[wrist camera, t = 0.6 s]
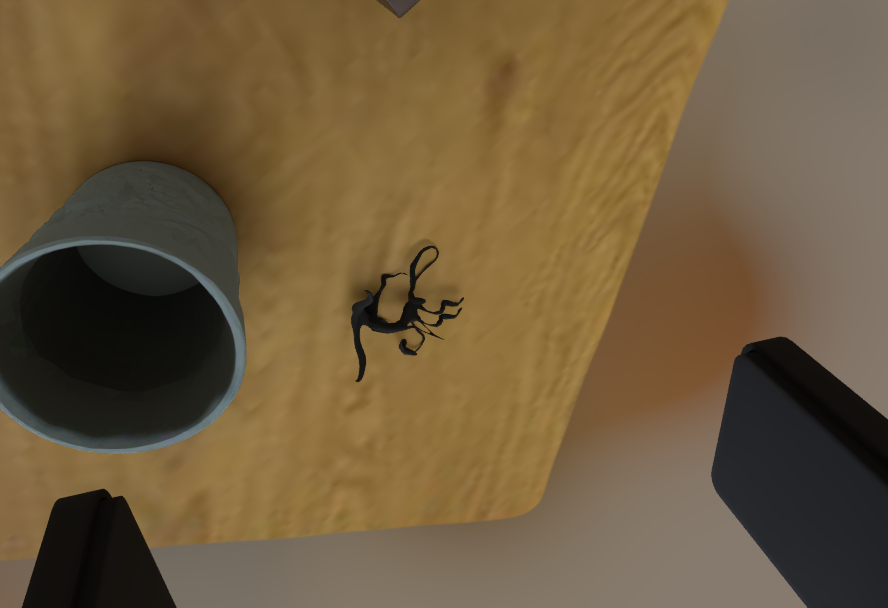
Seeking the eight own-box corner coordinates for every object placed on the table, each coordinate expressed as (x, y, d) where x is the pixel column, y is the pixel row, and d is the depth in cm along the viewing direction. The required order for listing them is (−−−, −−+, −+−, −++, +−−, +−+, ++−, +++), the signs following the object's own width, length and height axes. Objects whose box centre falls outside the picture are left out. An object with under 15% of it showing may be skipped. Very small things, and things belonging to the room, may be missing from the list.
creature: (460, 235, 43) (340, 243, 39) (504, 274, 39) (375, 287, 35) (441, 339, 46) (331, 355, 43) (479, 384, 42) (361, 407, 39)
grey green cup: (204, 335, 40) (190, 478, 30) (17, 273, 36) (-70, 418, 26) (276, 192, 37) (288, 300, 27) (81, 104, 33) (10, 196, 23)
